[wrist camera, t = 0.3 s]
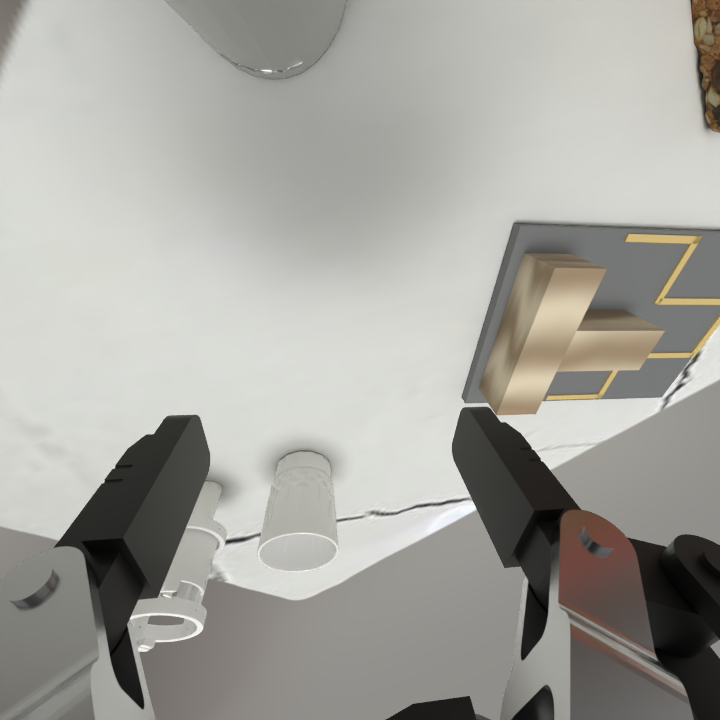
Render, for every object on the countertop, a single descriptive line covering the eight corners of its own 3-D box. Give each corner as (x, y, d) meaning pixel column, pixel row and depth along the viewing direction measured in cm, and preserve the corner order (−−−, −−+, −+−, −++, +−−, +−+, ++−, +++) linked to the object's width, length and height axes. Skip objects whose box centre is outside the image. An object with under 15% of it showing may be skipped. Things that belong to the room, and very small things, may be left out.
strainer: (165, 482, 37) (86, 645, 25) (215, 464, 36) (158, 624, 24) (203, 510, 41) (150, 663, 29) (249, 494, 40) (215, 646, 28)
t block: (524, 252, 25) (555, 267, 21) (656, 255, 26) (705, 270, 23) (478, 388, 32) (496, 415, 29) (582, 386, 34) (611, 411, 30)
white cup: (338, 447, 37) (342, 531, 28) (332, 487, 41) (335, 570, 33) (270, 446, 36) (254, 534, 27) (272, 487, 40) (258, 574, 31)
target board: (513, 223, 24) (522, 226, 23) (771, 232, 27) (789, 235, 26) (461, 397, 34) (466, 404, 33) (653, 391, 37) (662, 398, 36)
